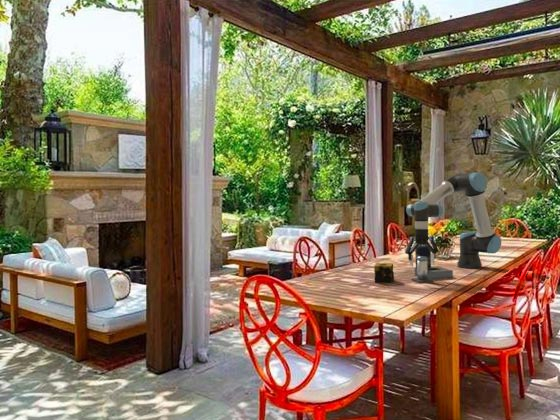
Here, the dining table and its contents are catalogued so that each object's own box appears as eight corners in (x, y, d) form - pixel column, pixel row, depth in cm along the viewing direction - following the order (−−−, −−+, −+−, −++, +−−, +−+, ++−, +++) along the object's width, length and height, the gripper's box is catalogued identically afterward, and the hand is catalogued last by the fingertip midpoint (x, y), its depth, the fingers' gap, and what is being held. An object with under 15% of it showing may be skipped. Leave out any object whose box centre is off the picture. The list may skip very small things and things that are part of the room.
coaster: (425, 279, 282) (425, 277, 282) (433, 281, 273) (433, 280, 273) (411, 280, 280) (411, 278, 280) (419, 283, 271) (419, 281, 271)
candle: (394, 280, 283) (393, 263, 282) (392, 283, 273) (392, 265, 273) (376, 279, 286) (376, 262, 286) (374, 282, 276) (373, 265, 276)
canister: (432, 273, 298) (431, 245, 298) (416, 273, 300) (415, 245, 300) (430, 271, 308) (429, 243, 307) (415, 271, 310) (414, 243, 309)
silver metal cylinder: (424, 278, 280) (424, 256, 279) (429, 279, 274) (429, 257, 274) (415, 278, 278) (415, 256, 278) (420, 280, 273) (420, 257, 272)
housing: (437, 273, 299) (437, 266, 298) (452, 277, 283) (452, 270, 283) (414, 275, 295) (414, 268, 295) (428, 279, 279) (428, 272, 279)
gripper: (437, 227, 282) (437, 263, 282) (398, 229, 276) (399, 265, 277) (444, 227, 274) (445, 264, 275) (404, 229, 269) (405, 267, 269)
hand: (422, 265), depth 276 cm, fingers open, 13 cm apart
